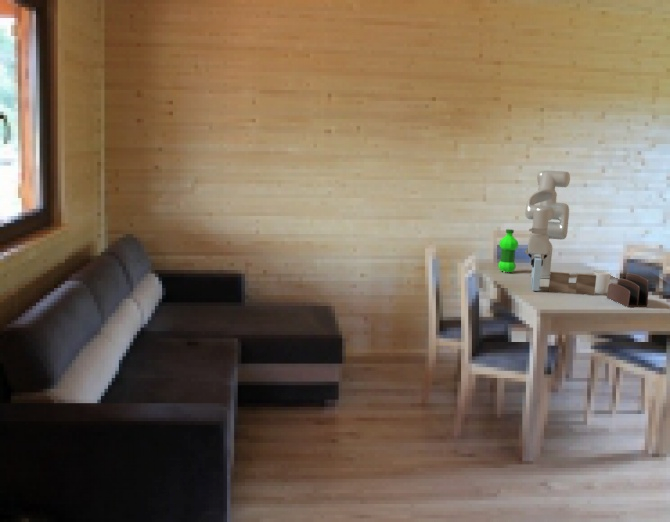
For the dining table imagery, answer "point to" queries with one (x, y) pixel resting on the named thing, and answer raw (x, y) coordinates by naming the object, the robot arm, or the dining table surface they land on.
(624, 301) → the letter holder
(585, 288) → the slotted board
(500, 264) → the plastic bottle
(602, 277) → the cup
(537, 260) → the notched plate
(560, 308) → the dining table surface
